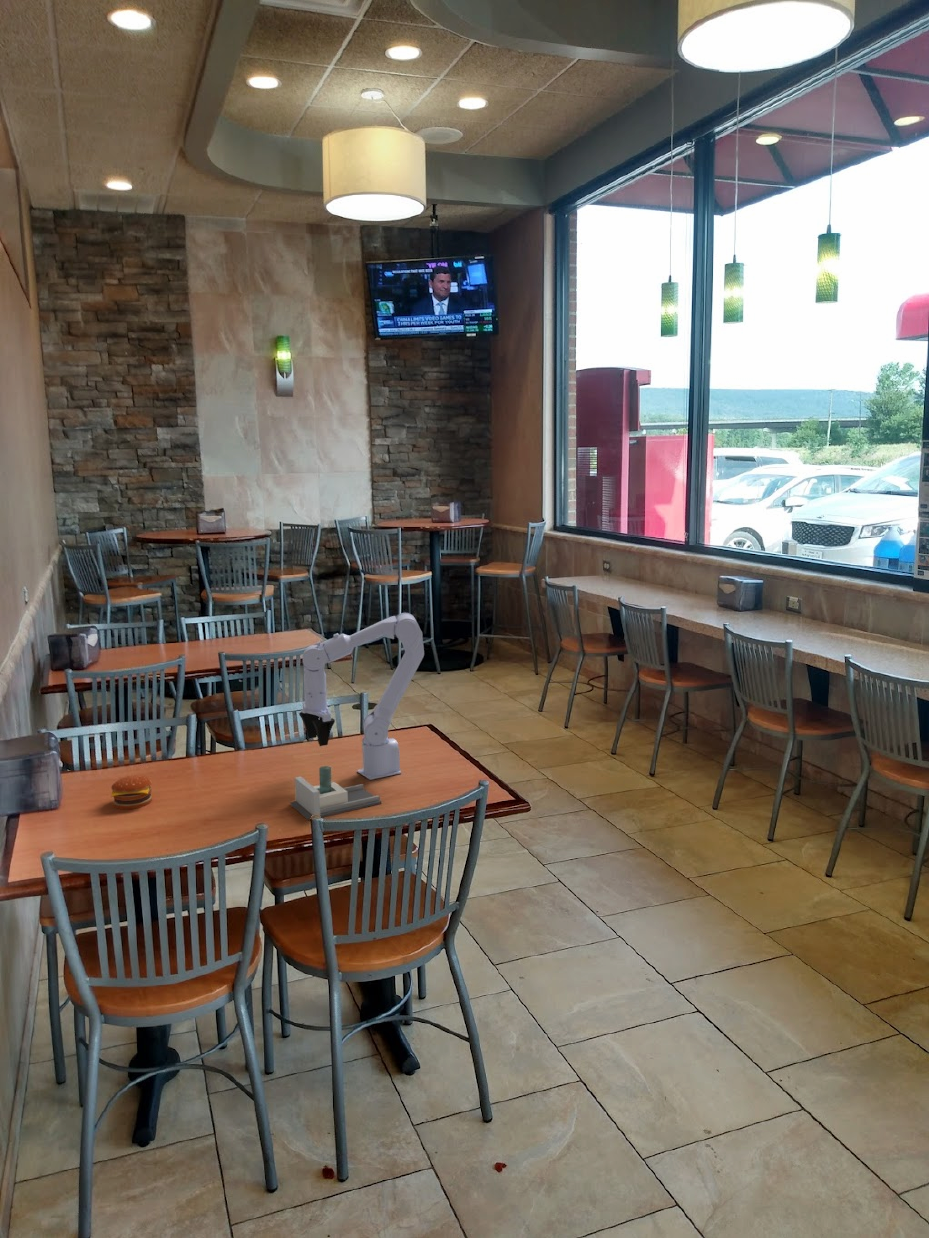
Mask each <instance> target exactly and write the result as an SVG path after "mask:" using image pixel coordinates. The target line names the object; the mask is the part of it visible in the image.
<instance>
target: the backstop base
mask: <svg viewBox="0 0 929 1238" xmlns="http://www.w3.org/2000/svg"><path fill="white" fill-rule="evenodd" d="M313 786H314V785H313V784H311V783H310V782H308V781H307V780H305V778H304V777H302V776H296V777H294V787H295V788H294V792H295V800H294V801H290V802H289V804H290V806H292V807H293V808H294V809H295V810H296V811H297V810H298V811H299V814H300V815H302V816H303V817H304V819H306V820H307V819H308V820H307V821H311V820H310V818H311V816H312V815H320V816H321V818H325V817H330V816H335V815H338V814H342V813H347V812H351V811H356V810H359V809H363V808H368V806H369V807H373V806H377V805H381V804H382V800H380V799H381V798H380V795H379V794H378V795H373V794H372V793H370V792H369V791H368V790H367V789H365V788H364V784H363V783H361V784H356V785H355V784H354V785H350V786H347V787H342V788H343V789H345V790H346V791H347V793H348V802H347V803H342V804H338V805H334V806H329V807H325V808H320V796H319V791H318V790H317V789H316V788H315V787H313ZM355 809H356V810H355ZM350 810H351V811H350ZM298 811H297V812H298Z"/></svg>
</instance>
